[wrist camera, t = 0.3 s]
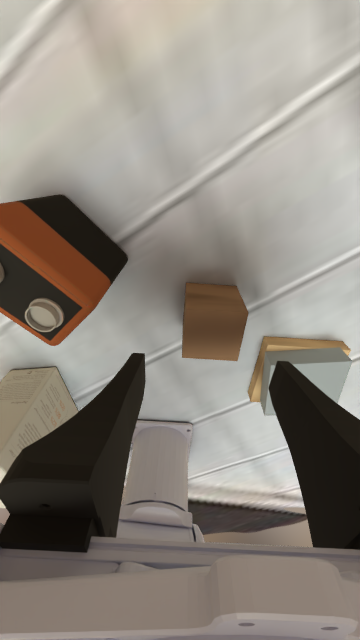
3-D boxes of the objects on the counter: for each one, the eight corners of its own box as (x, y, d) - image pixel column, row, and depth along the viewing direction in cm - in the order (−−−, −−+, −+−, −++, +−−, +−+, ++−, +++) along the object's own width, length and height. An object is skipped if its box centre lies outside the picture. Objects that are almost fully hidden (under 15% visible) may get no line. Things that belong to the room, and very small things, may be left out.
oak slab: (313, 392, 29) (320, 405, 27) (246, 388, 29) (250, 401, 27) (339, 338, 25) (350, 350, 23) (262, 333, 25) (267, 344, 23)
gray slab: (324, 397, 27) (333, 413, 25) (259, 400, 27) (264, 415, 25) (340, 347, 23) (352, 361, 21) (265, 351, 24) (271, 365, 22)
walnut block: (228, 327, 24) (237, 360, 20) (182, 325, 24) (182, 357, 20) (236, 285, 22) (248, 312, 17) (186, 282, 22) (186, 308, 17)
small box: (10, 368, 27) (-76, 463, 18) (57, 365, 27) (-7, 461, 18) (38, 414, 31) (-21, 510, 22) (80, 412, 31) (36, 509, 22)
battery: (62, 190, 18) (-52, 205, 9) (131, 257, 20) (91, 316, 12) (32, 232, 20) (-87, 277, 11) (100, 289, 22) (45, 361, 13)
